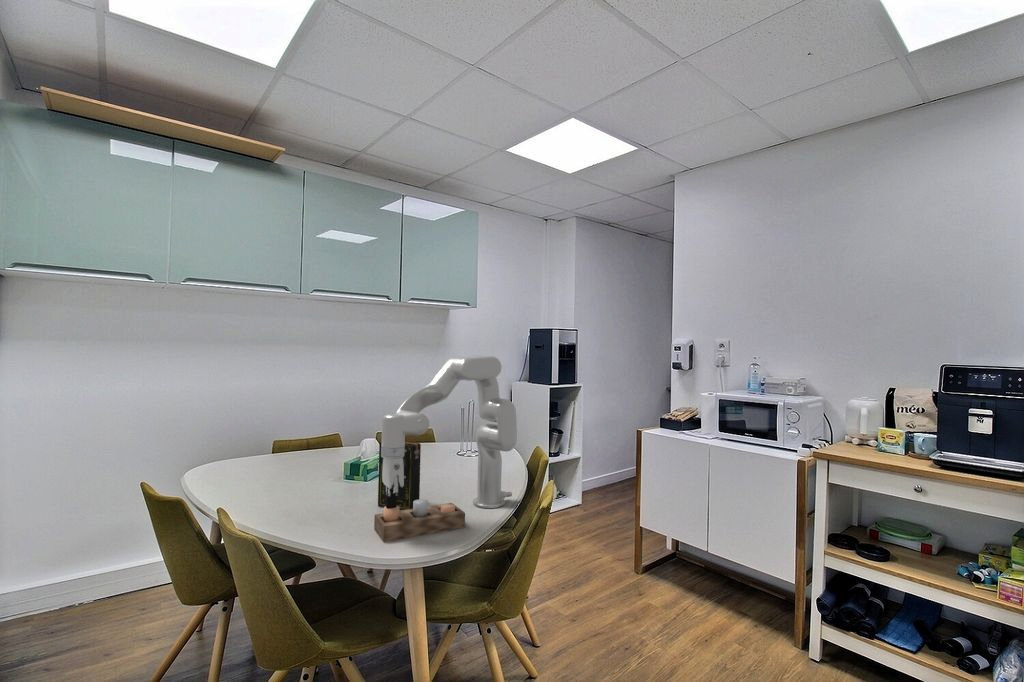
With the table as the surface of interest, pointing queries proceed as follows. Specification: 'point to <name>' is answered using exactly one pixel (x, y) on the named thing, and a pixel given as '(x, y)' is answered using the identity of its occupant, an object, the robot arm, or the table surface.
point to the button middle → (420, 508)
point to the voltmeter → (411, 478)
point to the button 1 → (391, 514)
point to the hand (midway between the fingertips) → (391, 507)
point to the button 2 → (447, 508)
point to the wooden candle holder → (419, 523)
